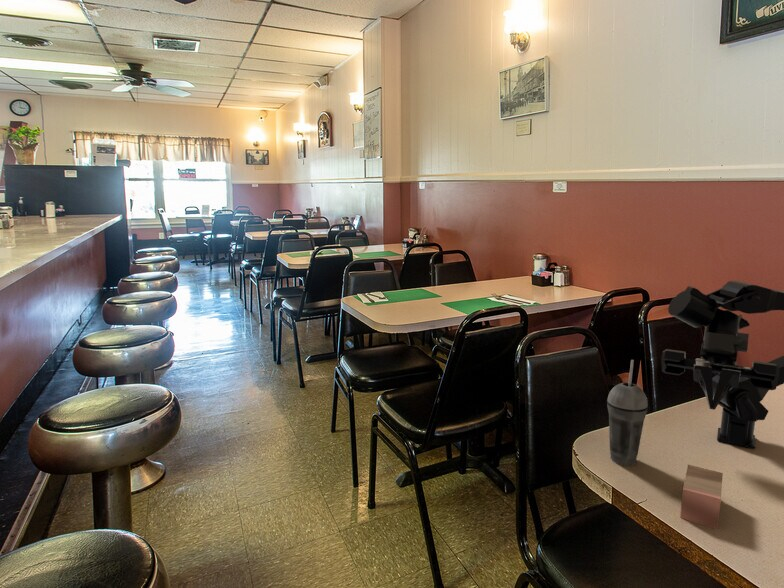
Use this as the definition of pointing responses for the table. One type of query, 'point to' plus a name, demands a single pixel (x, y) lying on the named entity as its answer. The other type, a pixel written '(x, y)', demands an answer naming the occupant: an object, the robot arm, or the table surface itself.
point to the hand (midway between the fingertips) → (712, 408)
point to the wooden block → (702, 496)
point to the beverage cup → (626, 420)
